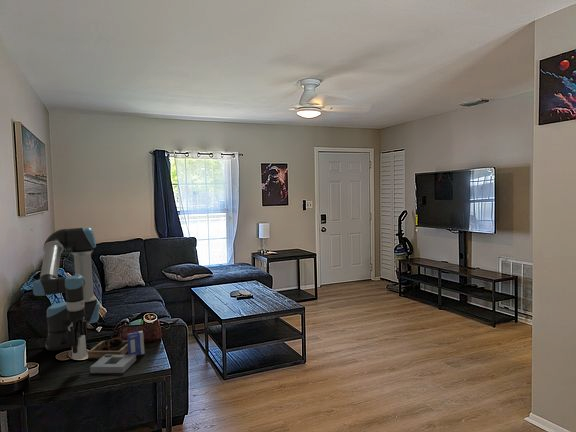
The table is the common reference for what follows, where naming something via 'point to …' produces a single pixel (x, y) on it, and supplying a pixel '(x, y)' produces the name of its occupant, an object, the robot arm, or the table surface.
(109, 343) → the pottery mug
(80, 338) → the plug
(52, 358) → the table surface
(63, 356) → the table surface
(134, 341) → the walkman
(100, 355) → the mug frame
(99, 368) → the socket plate
